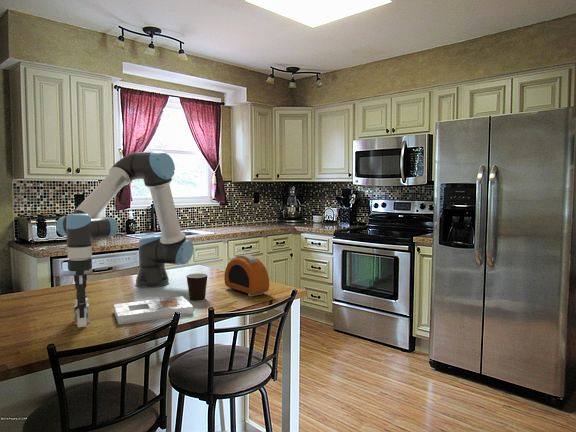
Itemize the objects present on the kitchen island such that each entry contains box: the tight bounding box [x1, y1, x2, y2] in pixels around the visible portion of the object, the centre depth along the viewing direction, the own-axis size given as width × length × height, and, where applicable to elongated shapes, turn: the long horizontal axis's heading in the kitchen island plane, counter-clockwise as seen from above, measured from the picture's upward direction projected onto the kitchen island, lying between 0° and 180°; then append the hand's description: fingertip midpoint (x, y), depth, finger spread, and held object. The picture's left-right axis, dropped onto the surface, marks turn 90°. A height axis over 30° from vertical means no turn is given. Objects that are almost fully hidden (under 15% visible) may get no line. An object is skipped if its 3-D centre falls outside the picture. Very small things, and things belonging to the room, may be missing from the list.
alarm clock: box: [224, 254, 270, 297], centre depth 190 cm, size 23×9×17 cm, turn 41°
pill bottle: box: [73, 297, 90, 326], centre depth 147 cm, size 5×5×8 cm
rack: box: [113, 295, 194, 326], centre depth 158 cm, size 16×26×3 cm, turn 118°
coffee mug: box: [186, 273, 208, 302], centre depth 179 cm, size 12×9×10 cm
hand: (81, 322), depth 147 cm, fingers open, 9 cm apart
